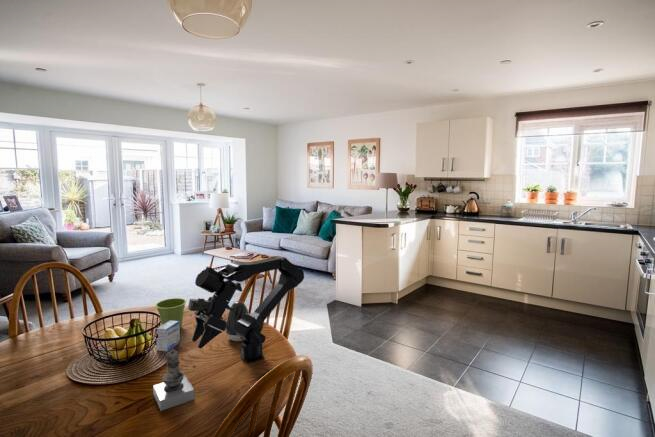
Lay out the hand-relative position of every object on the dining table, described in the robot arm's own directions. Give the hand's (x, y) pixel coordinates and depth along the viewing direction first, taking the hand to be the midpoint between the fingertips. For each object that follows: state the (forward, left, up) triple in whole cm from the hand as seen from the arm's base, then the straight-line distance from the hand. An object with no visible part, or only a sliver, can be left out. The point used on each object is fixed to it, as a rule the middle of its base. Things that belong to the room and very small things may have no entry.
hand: (196, 344), depth 112 cm
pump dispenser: (-22, -20, -12) cm, 32 cm away
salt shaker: (+8, +5, -9) cm, 13 cm away
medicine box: (+2, -29, -12) cm, 32 cm away
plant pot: (-3, -45, -12) cm, 47 cm away
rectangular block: (+8, +5, -12) cm, 15 cm away
